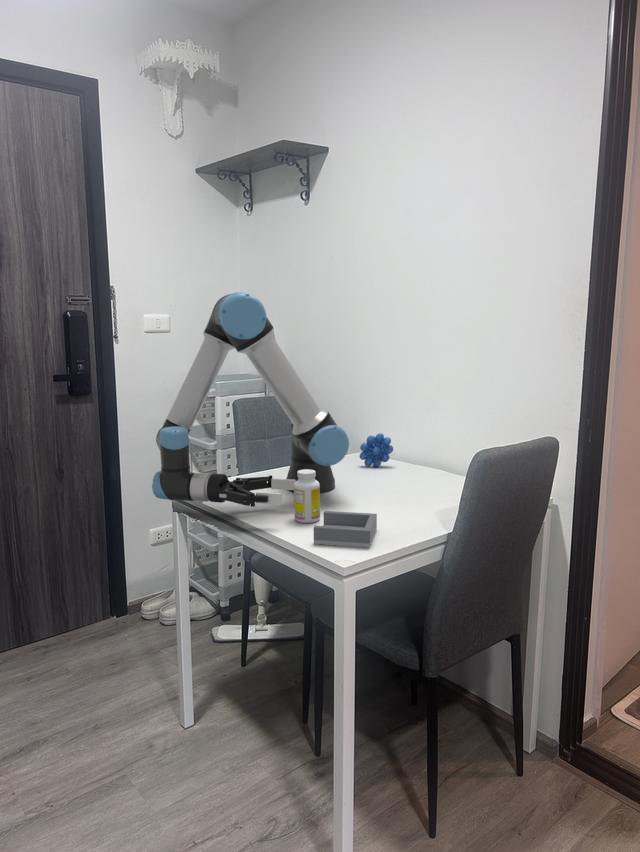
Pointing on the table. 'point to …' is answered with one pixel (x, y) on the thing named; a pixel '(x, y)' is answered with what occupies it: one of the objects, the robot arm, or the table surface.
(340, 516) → the gray open-sided tray
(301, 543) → the table surface
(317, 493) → the supplement bottle
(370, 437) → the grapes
